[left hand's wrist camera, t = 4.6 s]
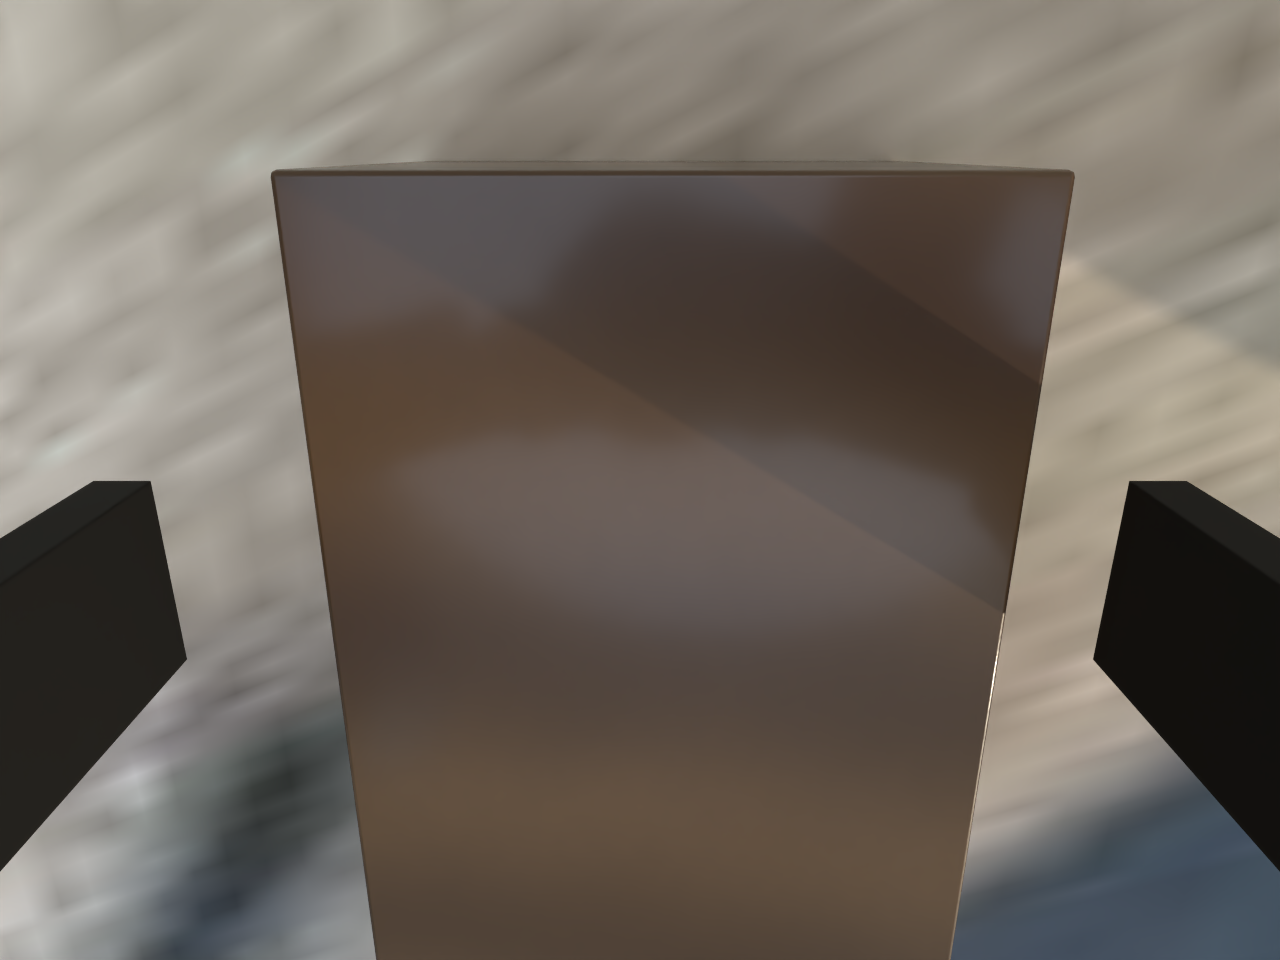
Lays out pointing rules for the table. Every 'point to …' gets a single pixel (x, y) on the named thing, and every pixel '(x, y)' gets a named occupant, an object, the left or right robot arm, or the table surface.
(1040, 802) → the table surface
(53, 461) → the table surface
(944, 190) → the wide beam
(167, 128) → the table surface
